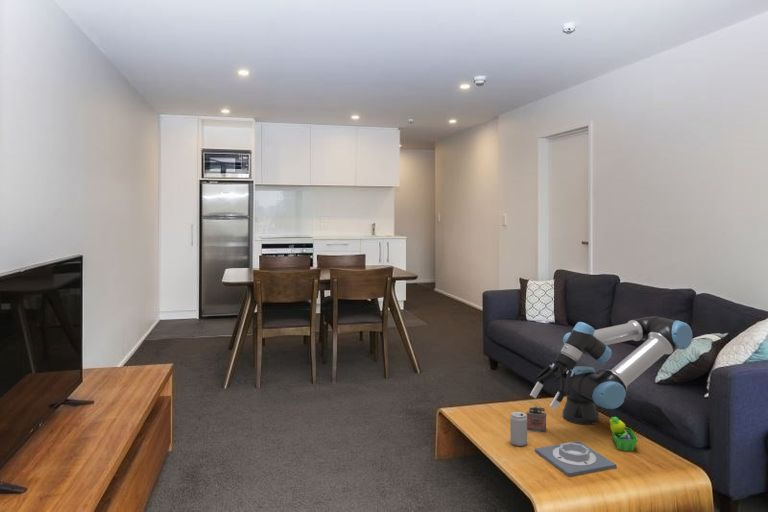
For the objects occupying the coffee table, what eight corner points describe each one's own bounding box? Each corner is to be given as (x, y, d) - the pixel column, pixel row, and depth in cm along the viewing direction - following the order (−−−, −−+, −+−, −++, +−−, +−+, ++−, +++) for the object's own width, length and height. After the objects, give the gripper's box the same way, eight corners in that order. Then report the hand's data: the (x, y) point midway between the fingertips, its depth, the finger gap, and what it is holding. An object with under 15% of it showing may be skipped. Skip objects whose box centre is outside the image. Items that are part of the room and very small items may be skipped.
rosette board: (579, 444, 191) (579, 434, 191) (616, 467, 172) (616, 456, 171) (534, 451, 185) (534, 441, 185) (568, 476, 166) (568, 465, 166)
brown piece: (526, 430, 205) (526, 407, 204) (526, 427, 208) (526, 404, 208) (546, 433, 202) (546, 409, 201) (546, 430, 205) (546, 406, 204)
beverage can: (527, 447, 189) (527, 417, 188) (510, 446, 190) (510, 416, 189) (526, 440, 195) (526, 411, 194) (510, 439, 196) (509, 410, 196)
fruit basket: (638, 453, 183) (638, 423, 182) (612, 450, 185) (612, 422, 184) (630, 440, 194) (630, 412, 193) (606, 438, 196) (606, 411, 195)
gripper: (543, 345, 209) (518, 388, 206) (582, 360, 185) (554, 408, 182) (555, 354, 211) (531, 396, 208) (595, 369, 187) (568, 417, 184)
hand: (542, 402), depth 195 cm, fingers open, 13 cm apart
